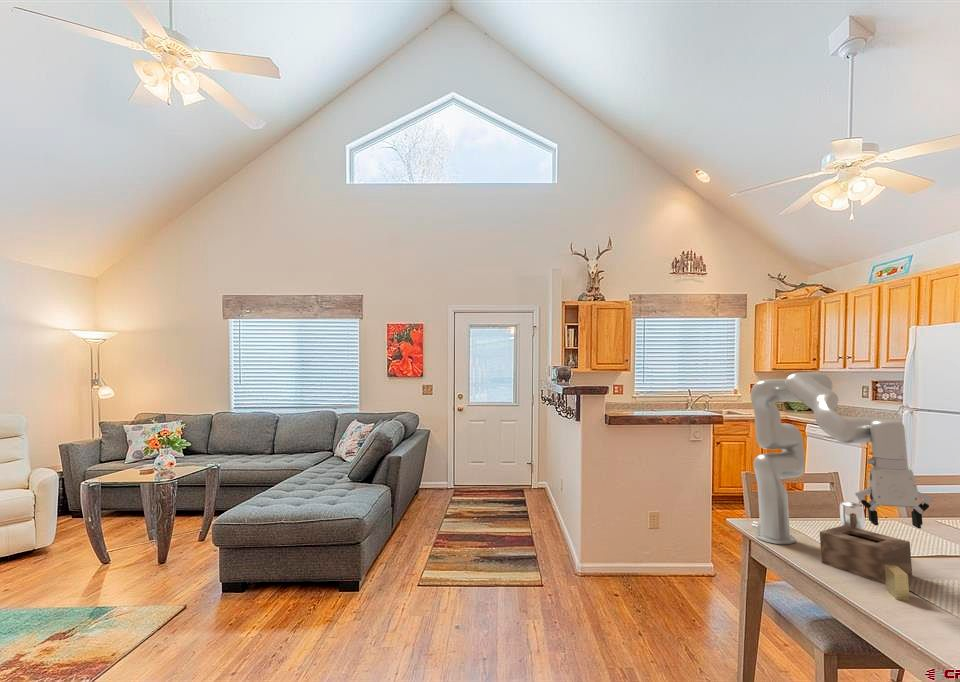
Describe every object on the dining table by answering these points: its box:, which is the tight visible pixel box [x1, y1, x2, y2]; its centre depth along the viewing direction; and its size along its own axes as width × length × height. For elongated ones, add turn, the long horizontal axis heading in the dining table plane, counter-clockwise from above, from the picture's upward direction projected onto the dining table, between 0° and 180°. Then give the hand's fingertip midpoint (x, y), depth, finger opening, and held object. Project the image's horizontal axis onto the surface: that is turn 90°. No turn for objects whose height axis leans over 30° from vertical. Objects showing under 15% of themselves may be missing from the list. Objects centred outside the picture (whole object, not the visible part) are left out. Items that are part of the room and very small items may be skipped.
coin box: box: [819, 525, 913, 585], centre depth 152 cm, size 18×14×10 cm
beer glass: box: [839, 501, 866, 530], centre depth 170 cm, size 7×7×15 cm
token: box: [885, 565, 911, 602], centre depth 134 cm, size 6×3×7 cm, turn 159°
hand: (895, 525), depth 135 cm, fingers open, 9 cm apart
